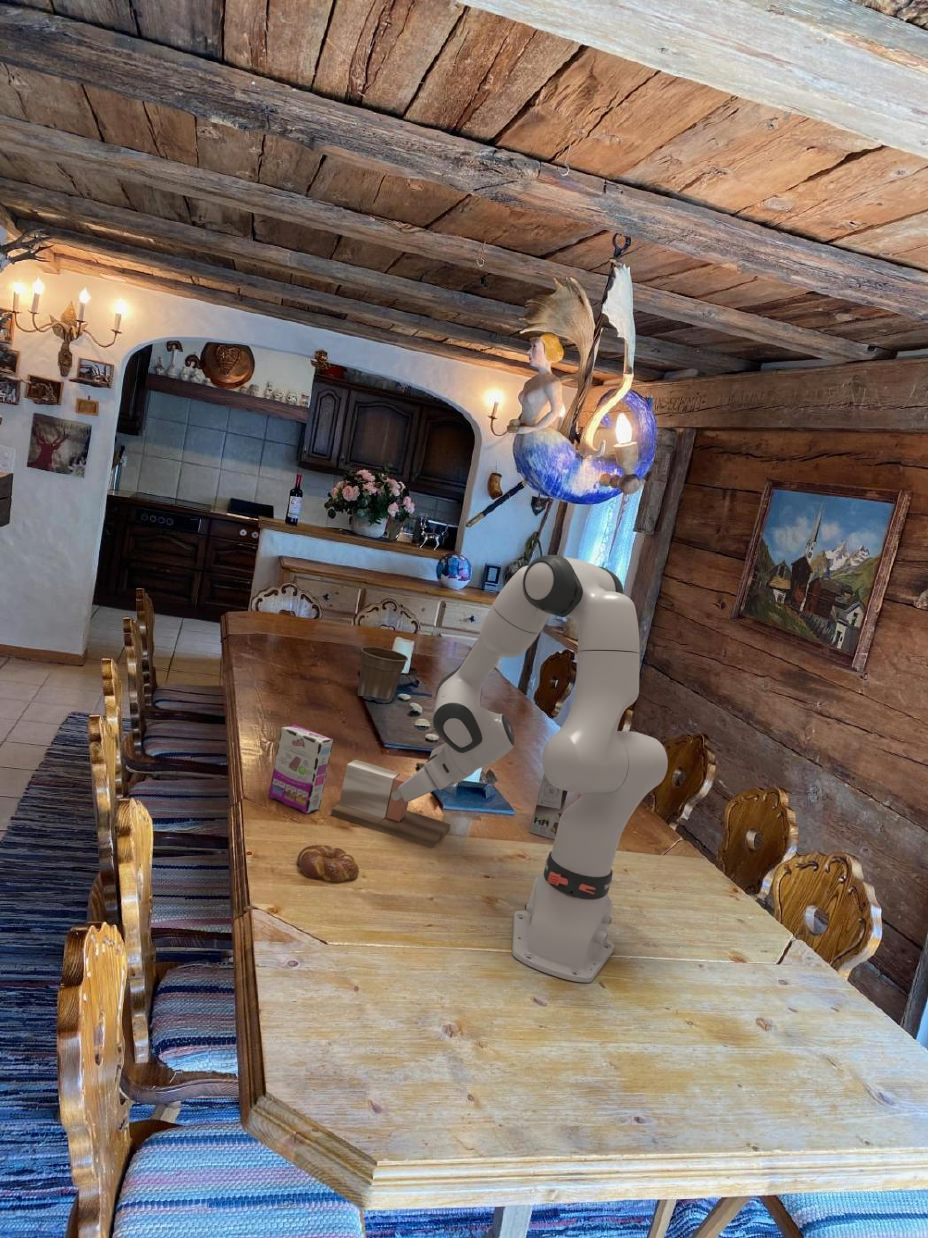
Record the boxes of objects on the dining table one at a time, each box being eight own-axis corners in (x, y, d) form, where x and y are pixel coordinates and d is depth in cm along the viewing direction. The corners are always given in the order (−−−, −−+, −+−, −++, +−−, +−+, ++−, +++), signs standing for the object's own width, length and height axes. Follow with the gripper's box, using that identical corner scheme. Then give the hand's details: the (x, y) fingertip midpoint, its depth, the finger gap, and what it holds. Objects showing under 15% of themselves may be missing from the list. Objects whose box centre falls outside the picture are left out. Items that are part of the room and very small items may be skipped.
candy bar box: (320, 809, 189) (335, 739, 187) (306, 815, 185) (321, 743, 182) (281, 792, 194) (294, 723, 192) (266, 797, 190) (280, 726, 187)
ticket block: (433, 848, 182) (444, 801, 180) (330, 815, 187) (340, 768, 186) (449, 830, 193) (459, 785, 192) (352, 799, 199) (361, 755, 197)
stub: (398, 821, 187) (407, 783, 186) (386, 817, 188) (394, 779, 187) (405, 815, 192) (413, 777, 190) (393, 811, 192) (401, 773, 191)
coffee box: (555, 840, 201) (571, 775, 199) (528, 833, 202) (544, 768, 200) (558, 827, 210) (574, 765, 208) (533, 820, 211) (548, 758, 209)
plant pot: (408, 703, 294) (417, 658, 292) (379, 708, 280) (389, 661, 278) (371, 689, 302) (380, 645, 300) (341, 693, 288) (351, 647, 286)
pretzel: (367, 870, 166) (371, 852, 166) (344, 892, 156) (348, 873, 155) (311, 851, 169) (315, 833, 168) (285, 871, 159) (289, 852, 158)
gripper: (454, 740, 196) (406, 768, 199) (427, 763, 176) (374, 793, 180) (468, 764, 195) (419, 792, 199) (443, 789, 176) (389, 820, 179)
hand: (398, 793), depth 189 cm, fingers closed on stub, 4 cm apart
